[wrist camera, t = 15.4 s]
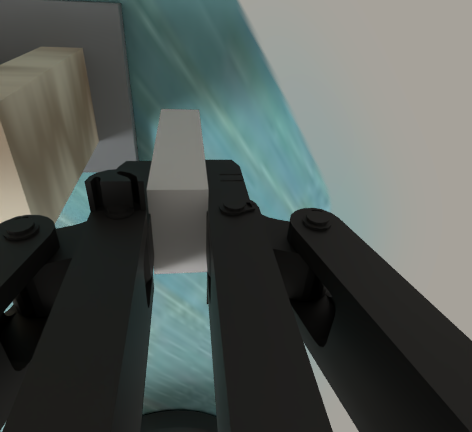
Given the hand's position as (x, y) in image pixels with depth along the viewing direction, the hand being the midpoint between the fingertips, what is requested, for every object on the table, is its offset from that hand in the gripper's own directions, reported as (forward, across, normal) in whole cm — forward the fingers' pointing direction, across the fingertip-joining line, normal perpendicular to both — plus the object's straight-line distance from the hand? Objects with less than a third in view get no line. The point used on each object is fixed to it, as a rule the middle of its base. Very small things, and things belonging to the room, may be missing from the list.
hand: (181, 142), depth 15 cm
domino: (+6, +6, 0) cm, 9 cm away
